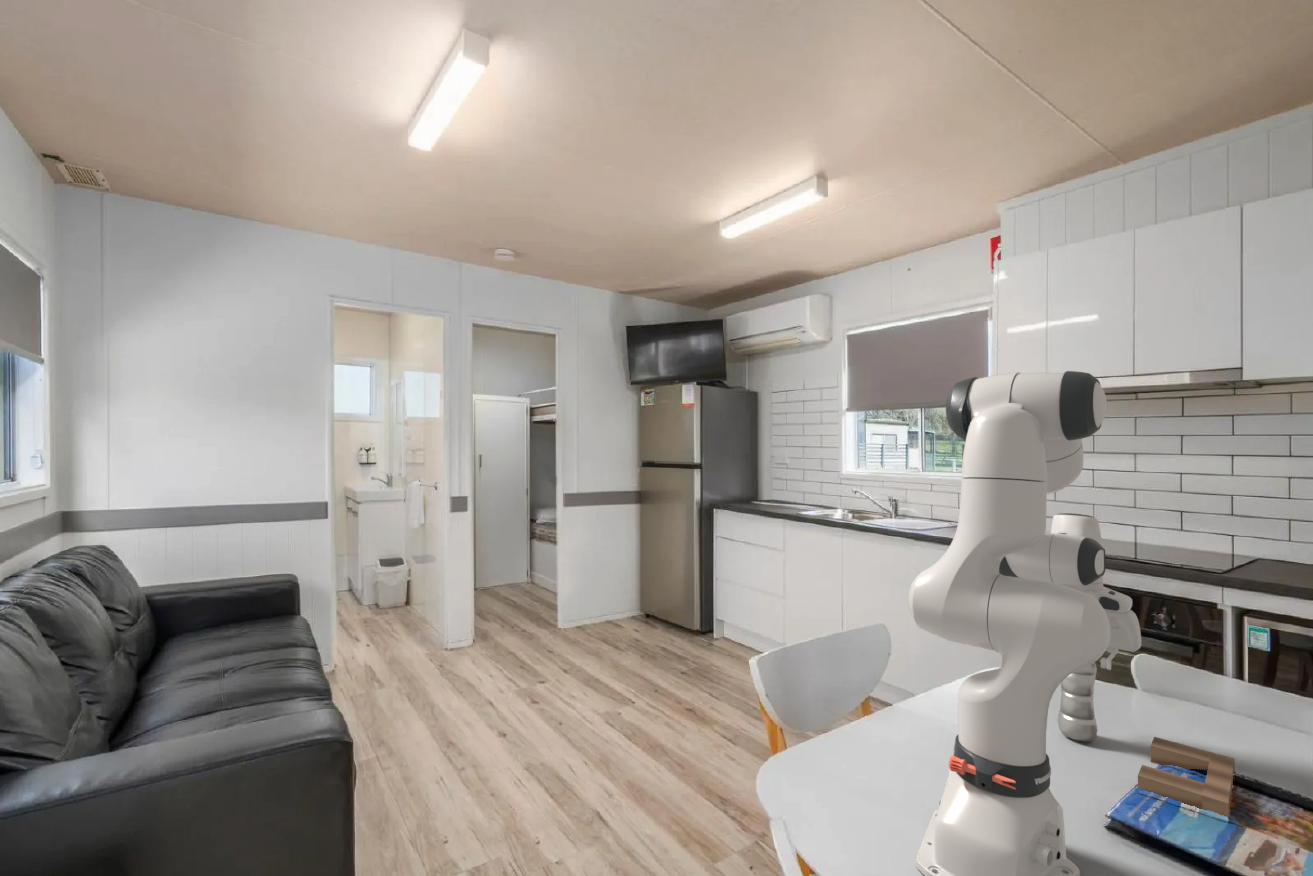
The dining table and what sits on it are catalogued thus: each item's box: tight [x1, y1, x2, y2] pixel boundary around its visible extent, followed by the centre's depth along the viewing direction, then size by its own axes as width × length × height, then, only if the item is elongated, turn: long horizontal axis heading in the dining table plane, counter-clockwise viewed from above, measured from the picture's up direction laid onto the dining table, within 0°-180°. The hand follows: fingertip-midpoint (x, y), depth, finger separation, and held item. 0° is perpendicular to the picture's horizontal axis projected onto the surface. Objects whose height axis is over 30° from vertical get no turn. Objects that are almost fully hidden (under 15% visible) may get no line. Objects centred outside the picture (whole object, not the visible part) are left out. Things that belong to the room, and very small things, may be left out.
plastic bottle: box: [1057, 661, 1098, 743], centre depth 119 cm, size 6×7×20 cm
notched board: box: [1137, 736, 1236, 819], centre depth 103 cm, size 20×11×3 cm, turn 134°
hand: (1076, 662), depth 120 cm, fingers open, 8 cm apart
